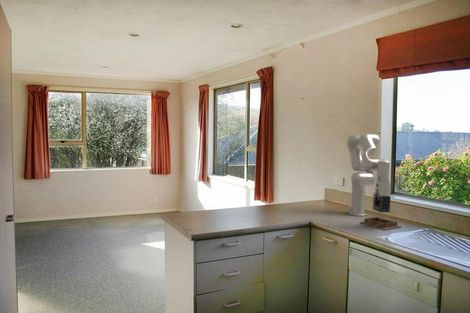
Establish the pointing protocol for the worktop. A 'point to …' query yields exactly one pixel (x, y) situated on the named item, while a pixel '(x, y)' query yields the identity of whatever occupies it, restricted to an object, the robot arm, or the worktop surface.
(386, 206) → the small box
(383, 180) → the robot arm
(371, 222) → the brown shallow box
